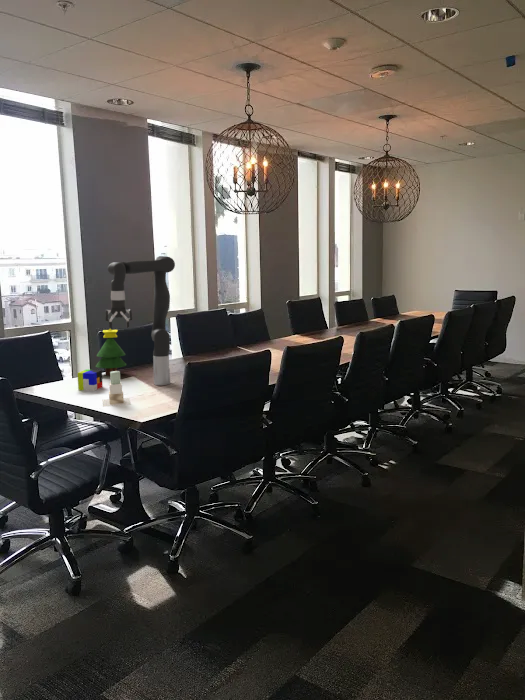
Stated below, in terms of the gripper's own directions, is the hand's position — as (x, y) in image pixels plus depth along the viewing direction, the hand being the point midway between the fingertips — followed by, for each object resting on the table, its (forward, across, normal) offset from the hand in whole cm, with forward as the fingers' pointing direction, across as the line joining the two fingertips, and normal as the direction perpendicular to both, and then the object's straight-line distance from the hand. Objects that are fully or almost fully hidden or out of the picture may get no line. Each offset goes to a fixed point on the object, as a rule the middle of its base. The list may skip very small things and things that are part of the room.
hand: (119, 328), depth 328 cm
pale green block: (+26, +4, +24) cm, 35 cm away
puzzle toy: (+36, +17, -14) cm, 43 cm away
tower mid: (+31, +4, +24) cm, 39 cm away
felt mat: (+36, +4, +24) cm, 44 cm away
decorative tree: (+36, +4, -49) cm, 61 cm away
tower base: (+36, +4, +24) cm, 43 cm away
